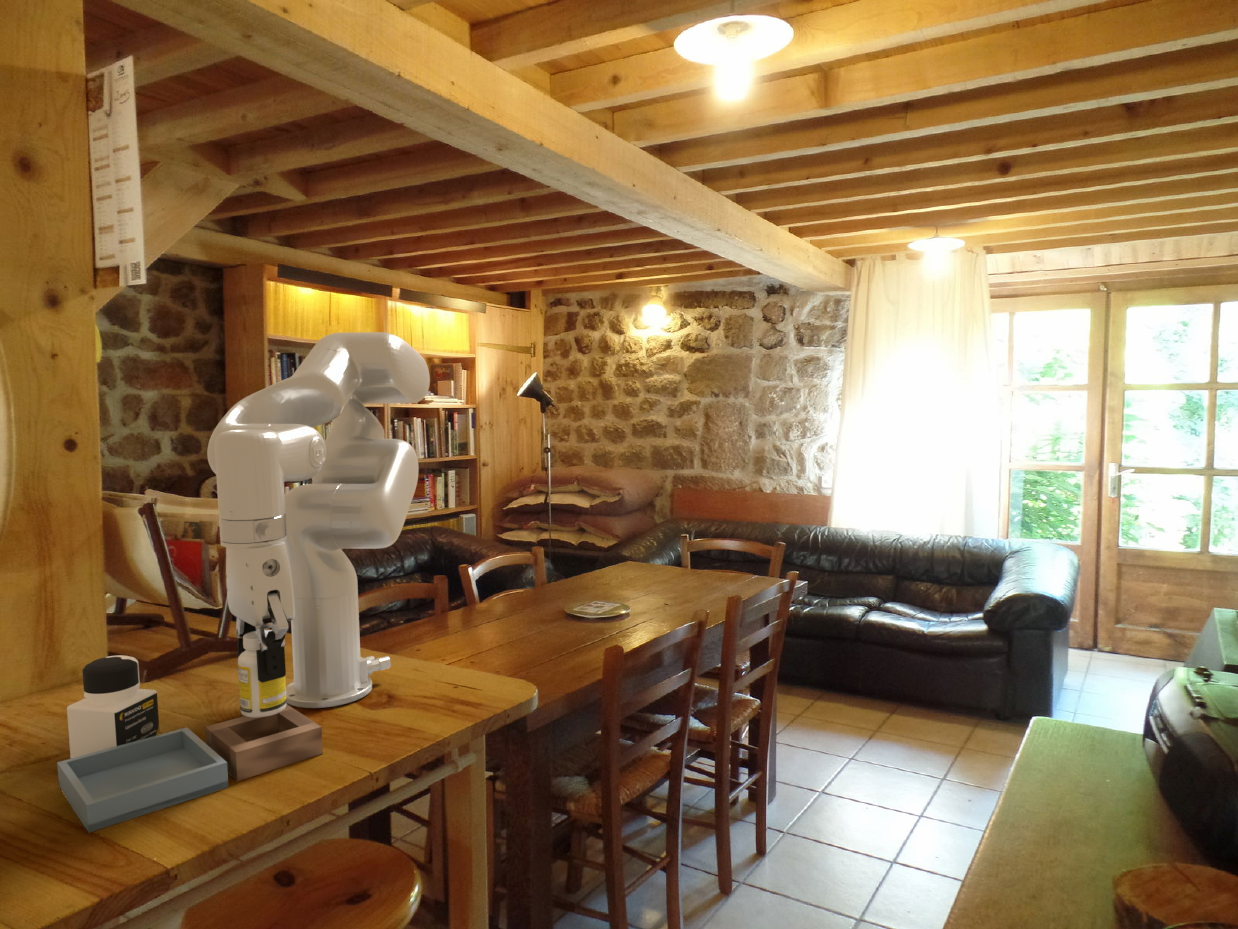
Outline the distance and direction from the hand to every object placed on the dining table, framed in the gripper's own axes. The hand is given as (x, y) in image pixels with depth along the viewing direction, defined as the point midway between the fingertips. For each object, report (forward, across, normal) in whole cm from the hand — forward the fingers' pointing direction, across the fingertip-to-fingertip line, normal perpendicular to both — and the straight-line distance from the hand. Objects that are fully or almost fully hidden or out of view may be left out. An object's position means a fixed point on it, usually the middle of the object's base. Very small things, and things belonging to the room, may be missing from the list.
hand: (262, 671), depth 106 cm
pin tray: (+10, +1, +14) cm, 17 cm away
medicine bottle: (+11, +14, +14) cm, 22 cm away
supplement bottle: (+5, 0, 0) cm, 5 cm away
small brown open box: (+10, 0, 0) cm, 10 cm away
